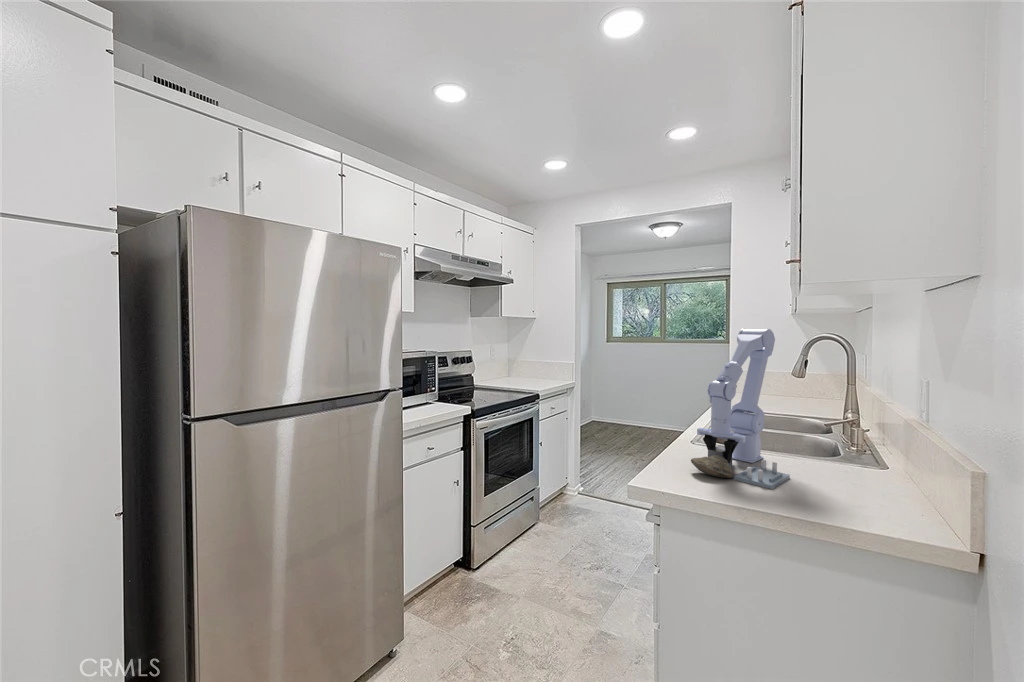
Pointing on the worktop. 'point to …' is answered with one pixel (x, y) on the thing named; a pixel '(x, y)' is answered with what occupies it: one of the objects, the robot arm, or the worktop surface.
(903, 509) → the worktop surface
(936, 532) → the worktop surface
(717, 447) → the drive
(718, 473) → the fossilized seashell
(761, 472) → the grey pegged plate
